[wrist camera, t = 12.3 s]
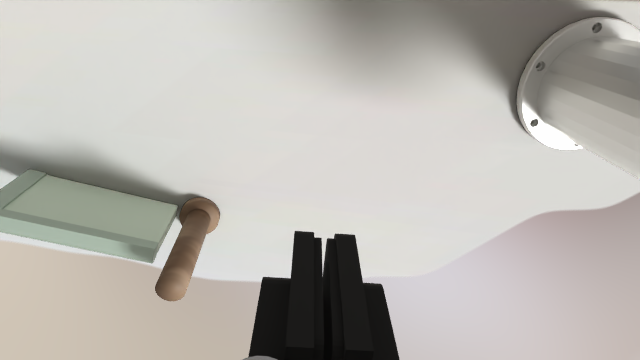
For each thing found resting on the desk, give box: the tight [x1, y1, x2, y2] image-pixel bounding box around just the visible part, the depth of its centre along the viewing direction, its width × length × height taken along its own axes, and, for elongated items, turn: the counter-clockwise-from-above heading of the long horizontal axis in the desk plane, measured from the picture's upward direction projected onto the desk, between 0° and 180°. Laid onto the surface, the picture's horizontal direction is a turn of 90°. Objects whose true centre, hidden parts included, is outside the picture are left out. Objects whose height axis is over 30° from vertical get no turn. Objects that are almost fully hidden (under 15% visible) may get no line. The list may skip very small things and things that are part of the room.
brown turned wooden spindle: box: [155, 197, 220, 301], centre depth 38 cm, size 4×4×12 cm
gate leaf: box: [0, 169, 178, 263], centre depth 38 cm, size 14×2×8 cm, turn 72°
